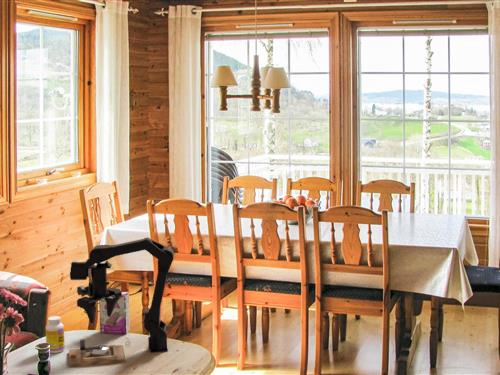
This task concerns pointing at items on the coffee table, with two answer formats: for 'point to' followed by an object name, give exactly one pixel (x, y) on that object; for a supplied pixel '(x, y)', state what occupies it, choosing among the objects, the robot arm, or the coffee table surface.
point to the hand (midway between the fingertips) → (100, 319)
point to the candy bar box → (115, 316)
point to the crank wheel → (95, 349)
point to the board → (85, 359)
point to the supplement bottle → (55, 334)
